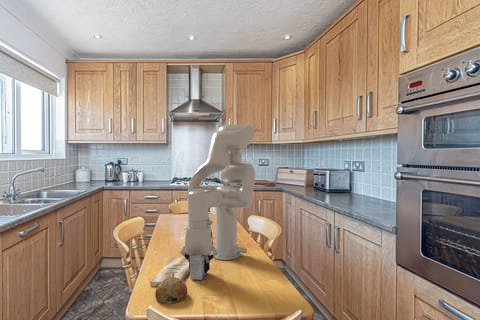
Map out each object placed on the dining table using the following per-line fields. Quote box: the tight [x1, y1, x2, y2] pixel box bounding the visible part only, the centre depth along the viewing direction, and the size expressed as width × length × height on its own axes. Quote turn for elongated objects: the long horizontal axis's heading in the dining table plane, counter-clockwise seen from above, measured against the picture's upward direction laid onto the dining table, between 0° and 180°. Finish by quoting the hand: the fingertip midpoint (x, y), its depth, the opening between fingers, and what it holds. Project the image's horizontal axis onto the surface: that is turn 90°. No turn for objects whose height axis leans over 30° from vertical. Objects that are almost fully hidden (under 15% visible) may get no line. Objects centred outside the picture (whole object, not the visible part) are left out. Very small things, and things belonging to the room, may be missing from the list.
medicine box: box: [189, 255, 207, 281], centre depth 112 cm, size 8×4×9 cm, turn 169°
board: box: [149, 257, 190, 287], centre depth 116 cm, size 10×24×2 cm, turn 174°
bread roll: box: [154, 277, 188, 305], centre depth 96 cm, size 10×10×8 cm
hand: (199, 271), depth 112 cm, fingers closed on medicine box, 4 cm apart
